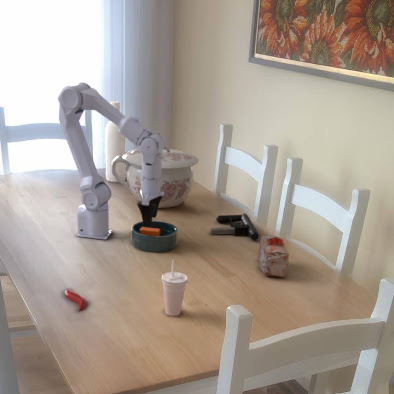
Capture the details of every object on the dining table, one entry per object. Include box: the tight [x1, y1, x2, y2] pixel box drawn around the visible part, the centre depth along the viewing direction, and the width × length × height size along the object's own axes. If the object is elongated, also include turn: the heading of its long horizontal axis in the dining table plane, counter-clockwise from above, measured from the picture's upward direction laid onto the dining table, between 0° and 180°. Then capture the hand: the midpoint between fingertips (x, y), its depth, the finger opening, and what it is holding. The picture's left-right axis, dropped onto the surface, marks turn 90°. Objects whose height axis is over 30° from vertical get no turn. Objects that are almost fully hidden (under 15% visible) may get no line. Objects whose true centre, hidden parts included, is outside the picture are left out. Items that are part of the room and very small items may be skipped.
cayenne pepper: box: [64, 288, 87, 312], centre depth 144 cm, size 12×5×2 cm, turn 18°
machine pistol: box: [210, 212, 260, 241], centre depth 194 cm, size 3×20×16 cm
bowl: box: [130, 220, 179, 253], centre depth 179 cm, size 14×14×5 cm
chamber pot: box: [111, 146, 199, 209], centre depth 210 cm, size 28×28×21 cm
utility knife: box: [140, 227, 160, 236], centre depth 179 cm, size 9×3×4 cm, turn 82°
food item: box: [257, 234, 290, 278], centre depth 167 cm, size 14×8×10 cm, turn 5°
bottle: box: [104, 100, 126, 183], centre depth 229 cm, size 8×8×30 cm
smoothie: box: [161, 259, 189, 317], centre depth 139 cm, size 6×6×14 cm
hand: (149, 221), depth 176 cm, fingers open, 7 cm apart
